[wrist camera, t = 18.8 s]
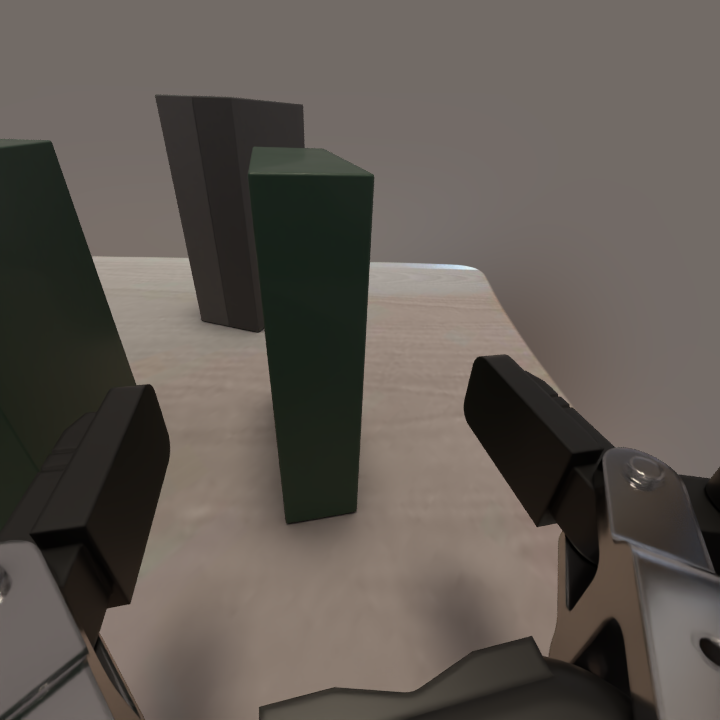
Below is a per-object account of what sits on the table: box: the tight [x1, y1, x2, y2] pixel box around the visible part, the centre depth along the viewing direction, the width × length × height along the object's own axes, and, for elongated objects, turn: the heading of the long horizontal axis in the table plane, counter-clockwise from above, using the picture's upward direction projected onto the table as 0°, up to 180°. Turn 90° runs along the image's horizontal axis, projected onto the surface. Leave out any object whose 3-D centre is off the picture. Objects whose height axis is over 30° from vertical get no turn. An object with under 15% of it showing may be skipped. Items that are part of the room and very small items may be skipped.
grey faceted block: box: [155, 95, 304, 332], centre depth 32 cm, size 6×10×16 cm, turn 162°
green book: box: [248, 147, 374, 523], centre depth 17 cm, size 3×9×14 cm, turn 13°
